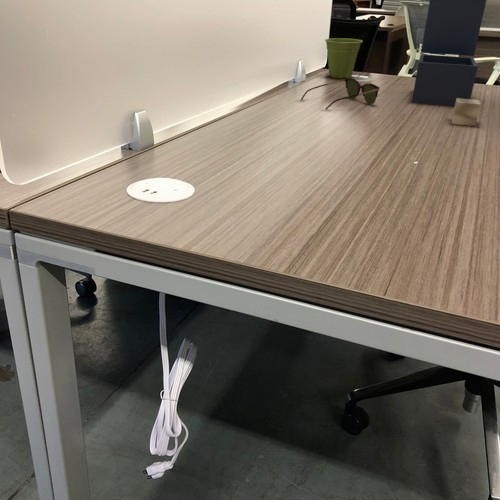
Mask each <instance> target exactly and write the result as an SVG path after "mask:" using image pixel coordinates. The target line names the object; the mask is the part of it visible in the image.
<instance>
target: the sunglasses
mask: <svg viewBox="0 0 500 500" xmlns="http://www.w3.org/2000/svg"><path fill="white" fill-rule="evenodd" d="M340 82H345V89H346V92H347V96H344V97H340V98H337V99H335V100H333V101H332V102H330V104H329V105H327V106H326V107H325V110H328V109H329V108H330V107H331V106H332V105H334V104H335V103H336V102H339V101H342V100H347V99H349V98H350V99H356V98H357V97H359V96H362V97H363V98H364V101H365V102H366V104H369V105H374V104H375V103H376V100H377V98H378V95H379V91H380V87H379V86H378V85H376V84H374V83H364V84H363V85H361V84H360V82H359V81H358V80H356V79H355V78H352V77H351V78H341V79H338V80H335V81H331V82H328V83H324V84H321V85H318V86H313V87H311V88H309V89H307V90H306V91H305V93H304V94H303V95H302V96H301V98H300V100H301V101H302V100H304V97H305V96H306V95H307V94H308V92H311V91H312V90H316V89H318V88H321V87H325V86H329V85H332V84H336V83H340ZM360 92H361V93H360Z"/></svg>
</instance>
